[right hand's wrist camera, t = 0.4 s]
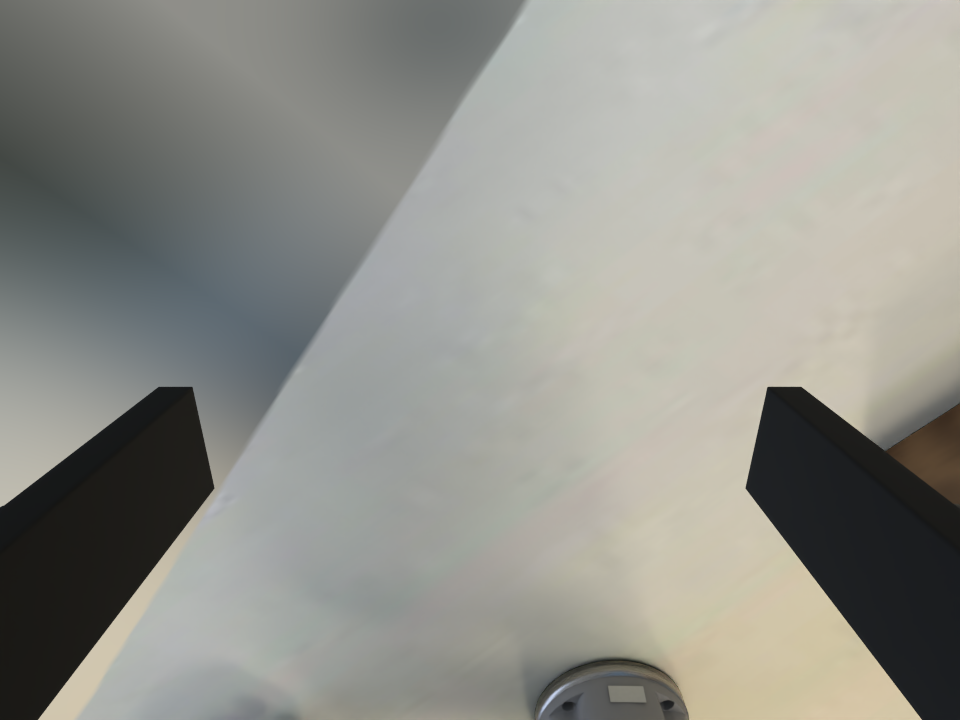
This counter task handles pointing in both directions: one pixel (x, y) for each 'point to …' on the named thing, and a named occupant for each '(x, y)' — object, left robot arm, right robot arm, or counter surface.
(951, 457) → the bar
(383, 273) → the counter surface
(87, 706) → the counter surface
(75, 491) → the right robot arm
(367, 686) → the counter surface
